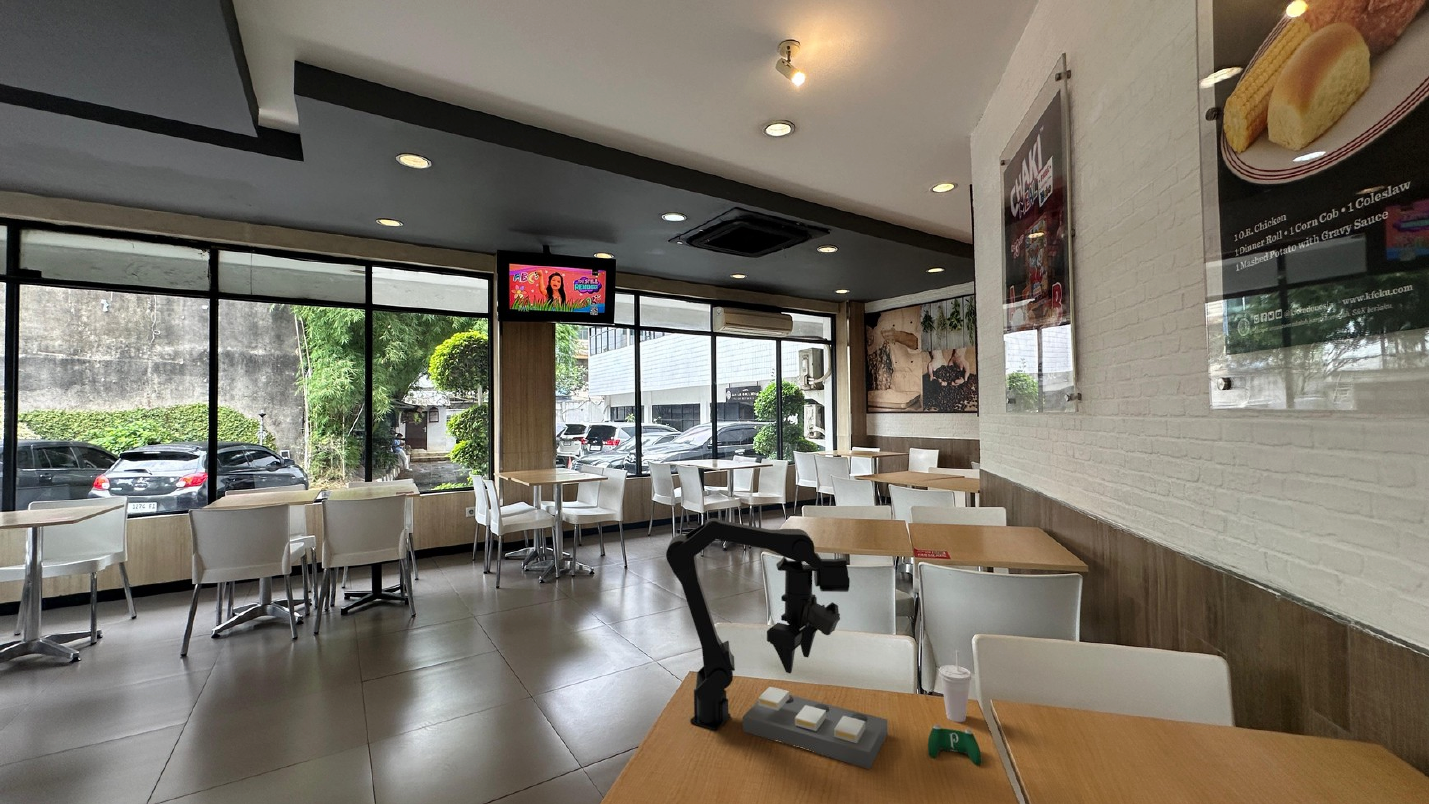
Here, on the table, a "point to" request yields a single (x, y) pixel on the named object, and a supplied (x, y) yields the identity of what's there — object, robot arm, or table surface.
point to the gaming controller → (953, 743)
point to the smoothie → (955, 690)
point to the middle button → (810, 718)
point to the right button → (849, 729)
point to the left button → (773, 698)
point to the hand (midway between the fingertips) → (797, 664)
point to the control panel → (823, 739)
